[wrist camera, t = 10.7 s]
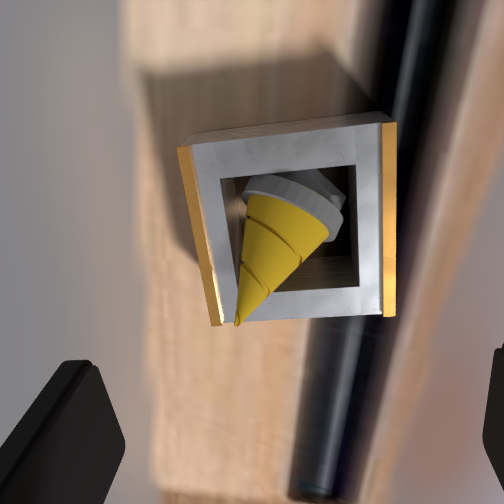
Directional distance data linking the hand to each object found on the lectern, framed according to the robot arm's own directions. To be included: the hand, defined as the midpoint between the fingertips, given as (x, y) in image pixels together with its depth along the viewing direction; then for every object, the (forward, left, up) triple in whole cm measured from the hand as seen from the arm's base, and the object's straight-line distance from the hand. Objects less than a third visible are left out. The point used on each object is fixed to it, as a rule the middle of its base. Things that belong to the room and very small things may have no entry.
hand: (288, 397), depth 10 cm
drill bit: (0, -1, -16) cm, 16 cm away
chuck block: (+1, 0, -16) cm, 16 cm away
